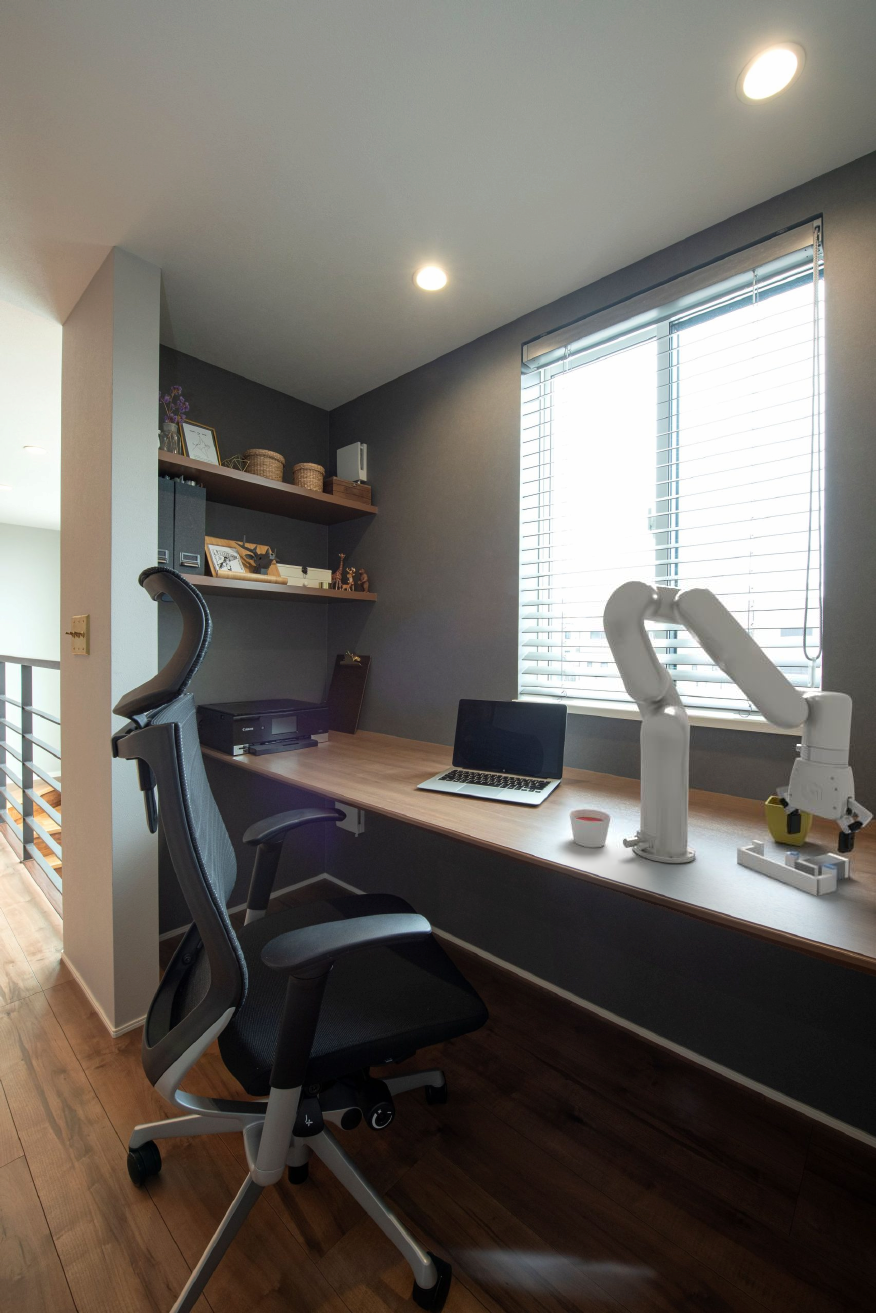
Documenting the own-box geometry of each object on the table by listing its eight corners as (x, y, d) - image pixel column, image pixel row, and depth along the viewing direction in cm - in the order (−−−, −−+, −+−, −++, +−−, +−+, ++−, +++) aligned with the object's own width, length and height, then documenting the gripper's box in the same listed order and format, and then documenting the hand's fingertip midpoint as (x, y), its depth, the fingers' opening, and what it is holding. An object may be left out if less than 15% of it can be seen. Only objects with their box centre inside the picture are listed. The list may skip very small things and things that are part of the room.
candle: (615, 840, 125) (615, 813, 125) (602, 853, 118) (603, 824, 118) (577, 832, 131) (577, 806, 130) (563, 844, 123) (563, 816, 123)
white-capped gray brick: (812, 886, 102) (813, 867, 102) (794, 878, 106) (794, 860, 106) (849, 876, 107) (850, 859, 107) (831, 869, 110) (831, 852, 110)
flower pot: (770, 831, 132) (770, 794, 131) (813, 840, 126) (814, 801, 126) (763, 842, 125) (764, 803, 125) (809, 851, 119) (810, 811, 119)
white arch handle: (816, 895, 98) (816, 871, 98) (736, 862, 113) (737, 841, 113) (836, 890, 101) (837, 866, 101) (756, 858, 115) (756, 837, 115)
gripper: (768, 747, 112) (763, 829, 113) (861, 767, 96) (854, 862, 97) (792, 745, 115) (787, 825, 116) (886, 764, 99) (880, 857, 100)
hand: (818, 842), depth 106 cm, fingers open, 9 cm apart
